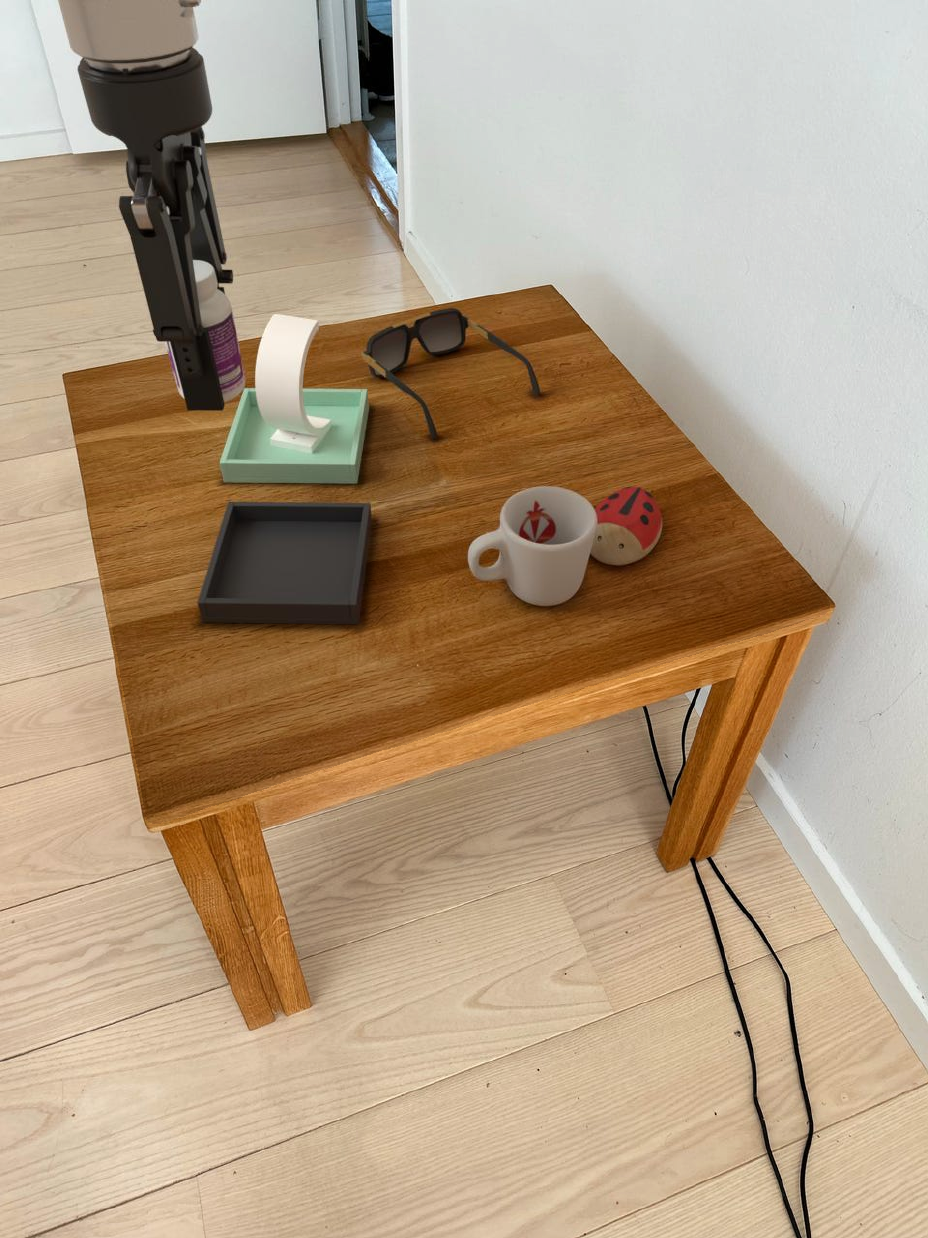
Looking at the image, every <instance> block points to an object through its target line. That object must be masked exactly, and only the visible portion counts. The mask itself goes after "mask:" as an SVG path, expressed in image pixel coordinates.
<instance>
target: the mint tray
mask: <svg viewBox="0 0 928 1238" xmlns="http://www.w3.org/2000/svg"><path fill="white" fill-rule="evenodd" d="M303 402H304V408H305V412H306V415H308V416H313V417H318V418H324V419H329V420H331V426H332V427H331V428H330V429H329V431H328V432H327V434H326V435H325V436H324V438H323V439H322V440H321V442H320V443H319V445H318V446H317V447H316V449H315V450H314V452H313V453H306V452H301V451H296V450H291V449H286V448H281V447H276V446H271V442H270V438H271V437H272V436H273V434H274V433H275V432H276V431H277V429H276V428H272V427H270V426H269V425H268V424H267V423H266V422H265V420H264V419H263V417H262V415H261V413H260V410H259V407H258V403H257V397H256V388H255V387H244V389H243V390H242V394H241V397H240V400H239V402H238V407H237V409H236V412H235V414H234V419H233V421H232V424H231V427H230V430H229V433H228V436H227V439H226V442H225V445H224V448H223V451H222V454H221V457H220V460H219V468H220V471H221V475H222V480H223V483H237V484H239V483H240V484H241V483H242V484H243V483H246V484H248V483H249V484H250V483H251V484H258V483H259V484H260V483H261V484H335V485H336V484H337V485H338V484H339V485H340V484H343V485H345V484H346V485H347V484H350V485H351V484H352V485H354V484H355V485H357V484H358V482H359V474H360V468H361V463H362V462H361V461H362V455H363V449H364V443H365V438H366V431H367V426H368V425H367V424H368V418H369V411H370V402H369V391H368V389H367V388H303Z"/></svg>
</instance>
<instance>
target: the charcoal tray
mask: <svg viewBox="0 0 928 1238" xmlns="http://www.w3.org/2000/svg"><path fill="white" fill-rule="evenodd" d="M371 505H372V504H371V503H370V502H314V501H313V502H310V501H309V502H308V501H307V502H303V501H301V502H300V501H297V502H296V501H228V502H227V504H226V508H225V511H224V515H223V518H222V520H221V524H220V527H219V531H218V535H217V537H216V540H215V544H214V547H213V550H212V554H211V556H210V561H209V563H208V566H207V569H206V573H205V577H204V580H203V583H202V586H201V590H200V593H199V596H198V600H197V602H196V603H197V606H198V609H199V613H200V615H201V620H202V623H219V624H221V623H222V624H224V623H225V624H295V625H296V624H297V625H298V624H302V625H303V624H304V625H305V624H307V625H309V624H311V625H317V624H318V625H359V623H360V618H361V617H360V616H361V610H362V603H363V602H362V601H363V594H364V587H365V586H364V585H365V581H366V580H365V579H366V572H367V564H368V557H369V550H370V542H371V536H372V535H371V534H372V528H373V516H372V515H373V514H372V507H371Z"/></svg>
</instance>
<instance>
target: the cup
mask: <svg viewBox="0 0 928 1238" xmlns="http://www.w3.org/2000/svg"><path fill="white" fill-rule="evenodd" d="M596 529H597V514H596V512H595V508H594V506H593V505H592V504H591V502H590V501H589V500H588V499H586V497H584V496H583V495H582V494H579V493H578V492H575V491H573V490H571V489H568V488H564V487H561V486H552V485H551V486H550V485H542V486H541V485H540V486H533V487H529V488H525V489H522V490H520V491H518V492H516V493H515V494H513V495H511V496H510V497H509V498H508V499H507V500H506V501H505V503H504V504H503V506H502V508H501V510H500V513H499V527H498V528H497V529H496V530H493V531H490V532H486V533H484V534H481V535H480V536H478V537H476V538H475V539H474V540H473V541H472V542H471V543H470V546H469V548H468V551H467V563H468V566H469V570H470V572H471V573H472V575H473V576H474V577H475V578H476V579H477V580H480V581H482V582H491V581H497V580H498V581H499V580H506V583H507V586H508V587H509V589H510V591H511V592H512V593H513V594H514V595H515V596H516V597H517V598H518V599H520V600H521V601H523V602H525V603H527V604H529V605H533V606H538V607H552V606H557V605H560V604H564V603H565V602H568V601H569V600H571V598H573V597H574V596H575V595H576V594H577V592H578V591H579V590H580V588H581V585H582V583H583V580H584V577H585V573H586V569H587V566H588V562H589V558H590V555H591V553H590V551H591V547H592V544H593V540H594V536H595V532H596ZM491 549H496V550H498V551H499V554H498V555H499V556H498V559H497V560H496V561H495V563H493V564H492V565H491V566H487V567H483V566H481V565H480V557H481V555H482V554H483V553H484V552H485V551H487V550H491Z"/></svg>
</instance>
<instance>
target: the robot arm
mask: <svg viewBox="0 0 928 1238" xmlns="http://www.w3.org/2000/svg"><path fill="white" fill-rule="evenodd" d="M57 2H58V5H59V10H60V14H61V17H62V21H63V24H64V29H65V32H66V37H67V40H68V43H69V47H70V49H71V50H72V52H73V53H75V54H76V55H78V56H79V57H81V60H80V61H79V64H78V65H77V73H78V77H79V80H80V85H81V89H82V91H83V95H84V99H85V103H86V106H87V109H88V114H89V117H90V121H91V123H92V124H93V127H95V128H96V129H97V130H98V131H99V132H101V133H102V134H104V135H106V136H109V137H114V138H115V139H117V140H119V141H121V142H122V143H123V144H124V146H125V147H126V156H127V157H126V158H127V160H126V161H125V172H126V173H125V174H126V178H127V185H128V187H129V189H130V190H131V191H132V192H133V193H132V194H133V195H120V196H119V199H118V209H119V212H120V214H121V217H122V220H123V222H124V224H125V227H126V230H127V232H128V234H129V237H130V240H131V244H132V249H133V253H134V258H135V261H136V264H137V268H138V273H139V276H140V280H141V284H142V289H143V292H144V296H145V299H146V305H147V309H148V312H149V316H150V320H151V324H152V328H153V329H152V333H153V335H154V337H155V340H156V341H157V342H160V343H161V342H163V343H165V342H170V343H171V347H172V351H173V355H174V359H175V363H176V367H177V371H178V375H179V379H180V383H181V386H182V390H183V394H184V398H185V399H184V398H183V399H184V402H185V406H186V409H187V411H206V412H207V411H210V412H211V411H212V412H213V411H214V412H216V411H219V412H222V411H224V409H225V402H224V400H223V395H222V390H221V386H220V381H219V377H218V372H217V368H216V363H215V359H214V354H213V350H212V345H211V340H210V336H209V331H208V327H203V325H202V322H201V315H200V308H199V301H198V293H197V286H196V279H195V272H194V265H193V260H200V261H205V262H207V263H209V264H211V265H212V266H213V268H214V270H215V274H216V278H217V282H218V285H217V289H218V290H220V291H222V292H223V293H224V294H225V295H226V292H225V287H224V286H220V284H222V285H223V284H227V285H228V284H229V285H230V284H233V282H234V272H233V271H234V270H233V269H223V267H222V266H223V265H226V263H227V258H228V256H227V252H226V249H225V244H224V238H223V234H222V233H223V232H222V228H221V224H220V219H219V213H218V210H217V204H216V198H215V194H214V189H213V183H212V179H211V175H210V170H209V165H208V157H207V151H206V149H207V148H206V142H205V138H206V135H205V131H204V129H203V126H204V125H206V124H207V123H208V121H209V120H210V119H211V117H212V115H213V104H212V98H211V94H210V88H209V82H208V77H207V71H206V70H207V69H206V66H205V60H204V57H203V56H202V54H200V53H199V51H198V50H197V49H196V48H195V47H194V46H195V45H196V44H197V42H198V40H199V33H198V27H197V20H196V15H195V11H194V8H196V7H199V6H200V5H201V3H202V0H57Z"/></svg>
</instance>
